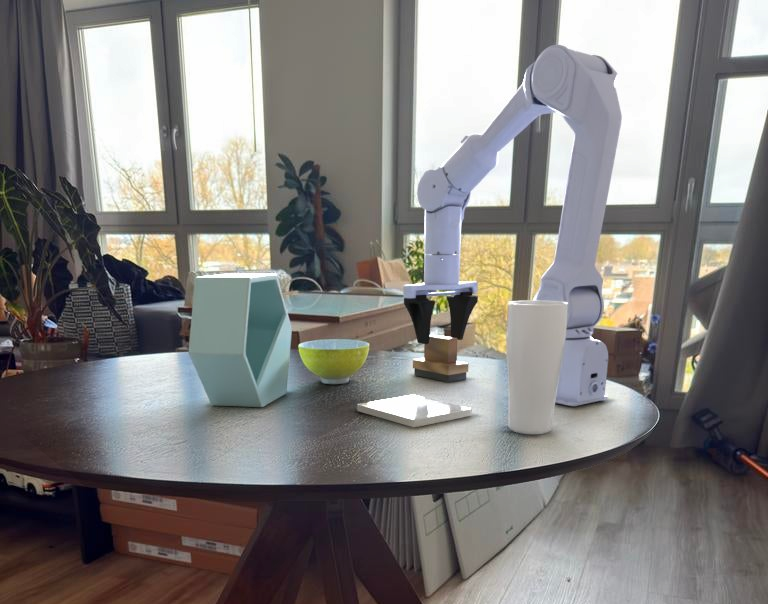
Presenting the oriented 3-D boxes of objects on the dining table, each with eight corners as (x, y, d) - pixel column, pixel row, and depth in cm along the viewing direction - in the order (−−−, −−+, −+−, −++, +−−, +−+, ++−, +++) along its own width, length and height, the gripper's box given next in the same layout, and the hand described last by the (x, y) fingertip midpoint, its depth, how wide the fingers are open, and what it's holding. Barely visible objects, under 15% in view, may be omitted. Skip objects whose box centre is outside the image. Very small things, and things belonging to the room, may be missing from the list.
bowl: (339, 391, 111) (337, 350, 109) (285, 383, 118) (283, 344, 116) (383, 380, 120) (383, 342, 118) (331, 373, 126) (330, 337, 124)
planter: (272, 434, 105) (231, 320, 89) (222, 431, 107) (173, 319, 90) (299, 355, 115) (267, 239, 98) (253, 353, 116) (214, 239, 100)
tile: (471, 415, 95) (472, 408, 95) (413, 427, 89) (413, 419, 89) (413, 401, 104) (413, 394, 104) (357, 411, 98) (356, 404, 98)
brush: (468, 379, 120) (469, 338, 118) (448, 382, 117) (449, 340, 115) (432, 372, 127) (432, 333, 124) (412, 375, 124) (412, 335, 122)
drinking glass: (546, 440, 83) (556, 305, 78) (492, 432, 87) (498, 303, 81) (566, 427, 89) (576, 301, 83) (514, 421, 92) (521, 299, 87)
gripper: (458, 253, 122) (455, 335, 127) (391, 255, 114) (391, 342, 119) (488, 253, 117) (484, 339, 122) (420, 255, 109) (419, 347, 114)
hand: (440, 341), depth 120 cm, fingers open, 7 cm apart
